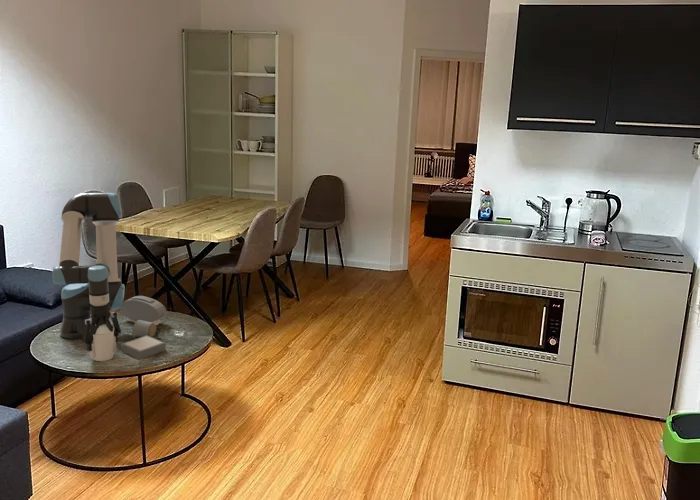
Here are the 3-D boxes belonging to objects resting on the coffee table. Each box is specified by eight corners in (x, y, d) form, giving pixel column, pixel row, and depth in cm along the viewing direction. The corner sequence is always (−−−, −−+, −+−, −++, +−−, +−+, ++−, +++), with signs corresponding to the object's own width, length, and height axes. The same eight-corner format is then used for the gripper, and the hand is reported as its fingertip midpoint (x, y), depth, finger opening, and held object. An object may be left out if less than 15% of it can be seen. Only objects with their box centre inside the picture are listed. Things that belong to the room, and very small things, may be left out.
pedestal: (121, 351, 268) (121, 343, 267) (147, 342, 278) (146, 335, 277) (140, 359, 260) (139, 351, 260) (165, 350, 271) (165, 342, 270)
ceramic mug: (149, 340, 280) (149, 324, 278) (132, 339, 281) (132, 323, 279) (160, 332, 290) (159, 317, 289) (143, 330, 291) (143, 315, 290)
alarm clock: (167, 323, 301) (166, 298, 298) (159, 327, 295) (158, 302, 292) (128, 316, 309) (127, 291, 306) (120, 320, 303) (118, 295, 300)
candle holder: (97, 351, 267) (96, 325, 264) (119, 353, 266) (118, 327, 263) (86, 361, 257) (84, 334, 254) (108, 362, 256) (107, 335, 253)
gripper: (80, 312, 245) (83, 364, 250) (128, 298, 262) (131, 348, 268) (69, 307, 249) (73, 359, 254) (117, 295, 266) (120, 343, 272)
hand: (103, 353), depth 261 cm, fingers closed on candle holder, 9 cm apart
